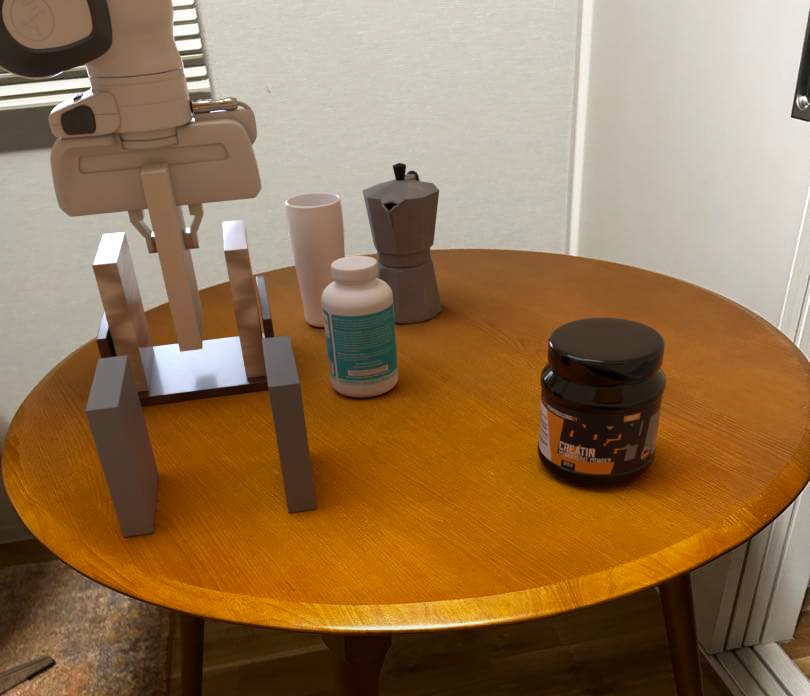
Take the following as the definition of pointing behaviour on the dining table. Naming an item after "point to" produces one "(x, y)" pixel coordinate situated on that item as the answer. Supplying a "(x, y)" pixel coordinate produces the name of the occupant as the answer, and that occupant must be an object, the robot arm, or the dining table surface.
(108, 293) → the book rack
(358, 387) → the pill bottle
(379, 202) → the coffeepot
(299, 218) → the drinking glass
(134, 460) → the grey books
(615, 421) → the supplement container
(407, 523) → the dining table surface
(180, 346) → the white book
